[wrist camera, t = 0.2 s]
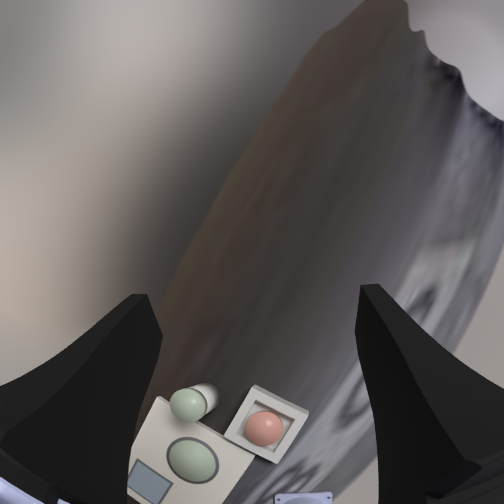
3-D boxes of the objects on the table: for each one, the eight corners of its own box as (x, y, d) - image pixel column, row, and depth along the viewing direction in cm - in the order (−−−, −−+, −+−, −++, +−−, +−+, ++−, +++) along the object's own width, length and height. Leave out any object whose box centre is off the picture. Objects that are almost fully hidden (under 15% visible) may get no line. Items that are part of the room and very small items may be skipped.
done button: (272, 448, 33) (271, 451, 32) (240, 432, 35) (238, 435, 33) (289, 420, 34) (289, 422, 33) (257, 404, 35) (256, 406, 34)
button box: (279, 457, 35) (277, 464, 32) (227, 431, 37) (223, 436, 35) (308, 411, 36) (308, 415, 34) (255, 384, 38) (251, 387, 36)
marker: (221, 411, 38) (204, 424, 31) (193, 409, 39) (170, 421, 31) (220, 382, 39) (202, 390, 32) (191, 381, 40) (169, 388, 33)
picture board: (197, 534, 32) (195, 537, 31) (117, 481, 36) (113, 483, 35) (256, 453, 35) (254, 456, 34) (160, 395, 40) (156, 397, 39)
